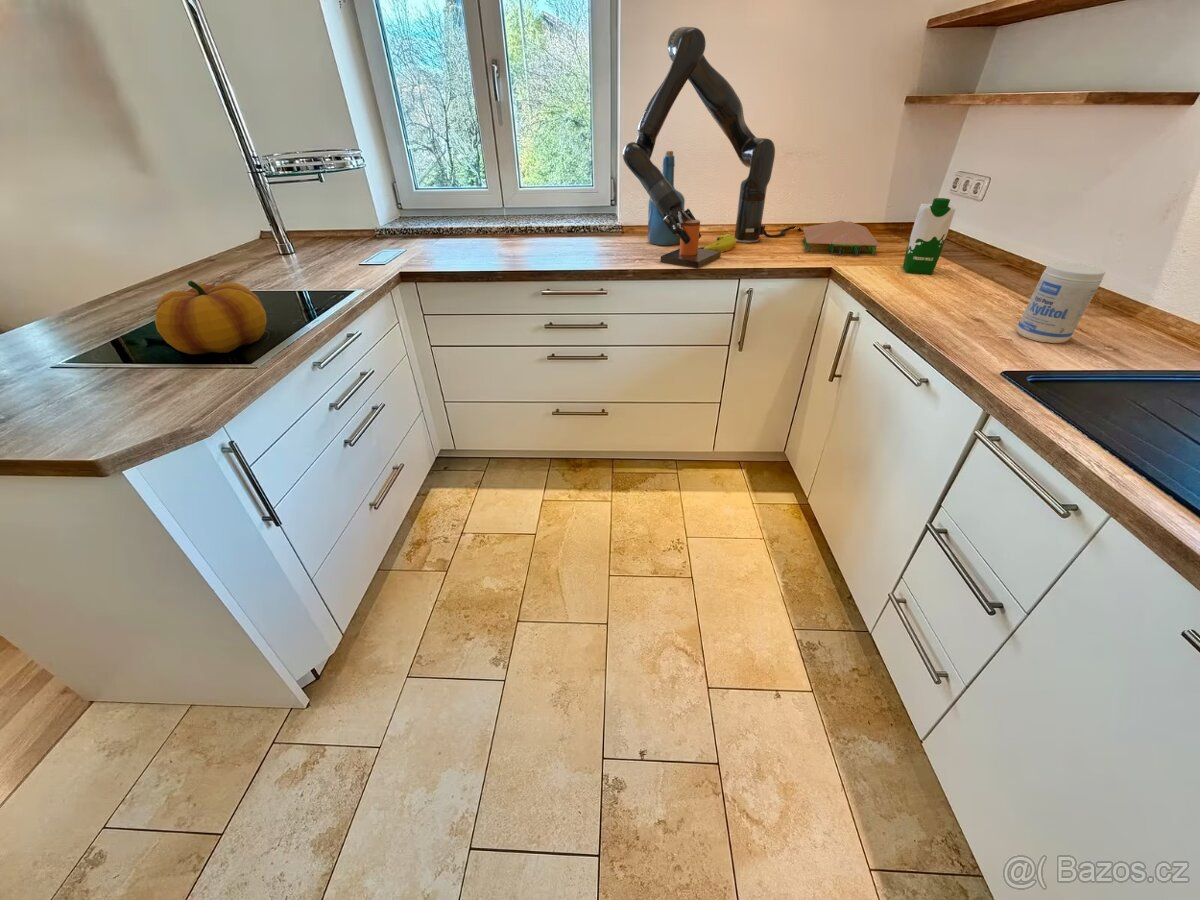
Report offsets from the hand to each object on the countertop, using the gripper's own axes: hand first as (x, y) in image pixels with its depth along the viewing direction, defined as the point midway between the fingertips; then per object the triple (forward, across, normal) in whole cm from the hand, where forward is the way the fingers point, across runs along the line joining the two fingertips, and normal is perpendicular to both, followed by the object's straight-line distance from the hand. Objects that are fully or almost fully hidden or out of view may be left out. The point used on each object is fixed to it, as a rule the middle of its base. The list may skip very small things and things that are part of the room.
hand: (693, 240), depth 167 cm
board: (+4, 0, +5) cm, 6 cm away
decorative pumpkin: (-33, -124, +42) cm, 135 cm away
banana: (+4, +20, +6) cm, 21 cm away
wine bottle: (-11, +18, +20) cm, 29 cm away
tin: (+2, 0, +4) cm, 5 cm away
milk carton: (+50, +25, -40) cm, 69 cm away
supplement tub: (+72, -17, -63) cm, 97 cm away
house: (+28, +46, -19) cm, 57 cm away
